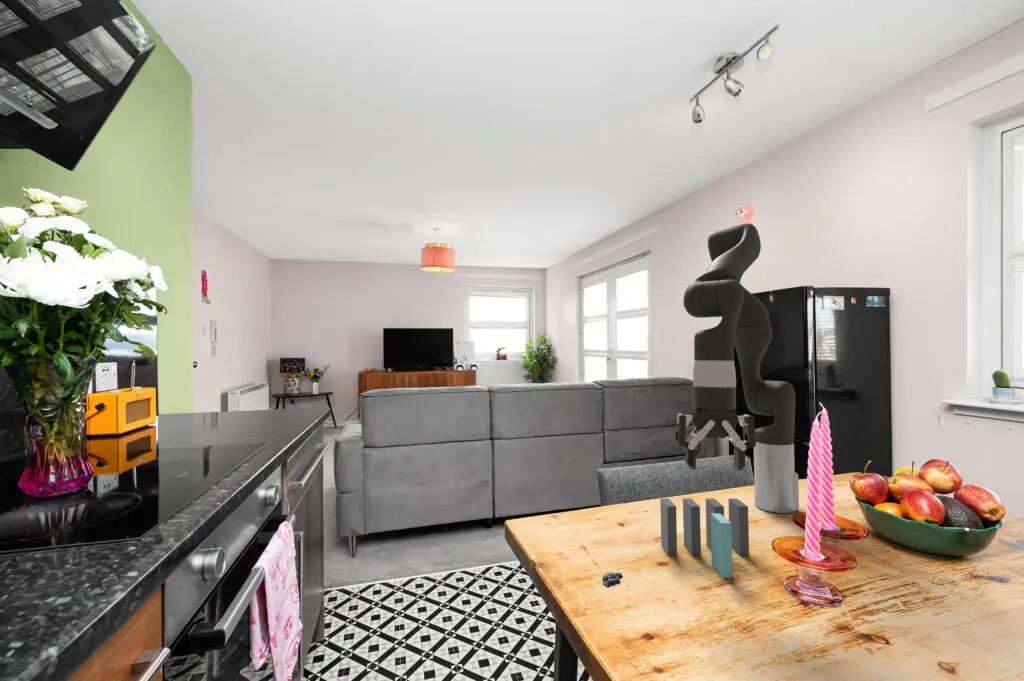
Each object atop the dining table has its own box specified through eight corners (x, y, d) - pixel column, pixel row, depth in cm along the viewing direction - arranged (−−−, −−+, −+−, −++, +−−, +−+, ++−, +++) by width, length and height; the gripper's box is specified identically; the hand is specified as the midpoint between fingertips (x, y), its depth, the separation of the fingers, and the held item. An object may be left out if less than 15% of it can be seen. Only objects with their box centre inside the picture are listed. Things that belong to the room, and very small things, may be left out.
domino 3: (715, 545, 98) (714, 498, 98) (725, 556, 93) (723, 506, 93) (706, 545, 98) (705, 498, 99) (716, 556, 93) (714, 506, 94)
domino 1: (669, 545, 99) (668, 498, 99) (677, 555, 94) (676, 506, 94) (661, 545, 99) (660, 498, 99) (668, 555, 94) (667, 506, 94)
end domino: (721, 565, 89) (720, 513, 90) (732, 578, 84) (731, 523, 85) (711, 565, 89) (710, 513, 90) (722, 577, 84) (721, 523, 85)
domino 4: (738, 545, 98) (737, 498, 98) (749, 556, 93) (748, 506, 93) (729, 545, 98) (728, 498, 98) (740, 556, 93) (739, 506, 93)
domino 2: (692, 545, 98) (691, 498, 99) (701, 555, 93) (699, 506, 94) (683, 545, 99) (682, 498, 99) (692, 555, 94) (690, 506, 94)
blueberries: (639, 582, 85) (639, 571, 85) (623, 598, 79) (623, 586, 79) (605, 572, 89) (605, 562, 89) (587, 587, 82) (587, 576, 82)
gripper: (744, 383, 92) (744, 465, 91) (670, 382, 93) (671, 463, 92) (761, 385, 84) (762, 475, 84) (681, 385, 85) (682, 473, 85)
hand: (714, 469), depth 88 cm, fingers open, 8 cm apart
